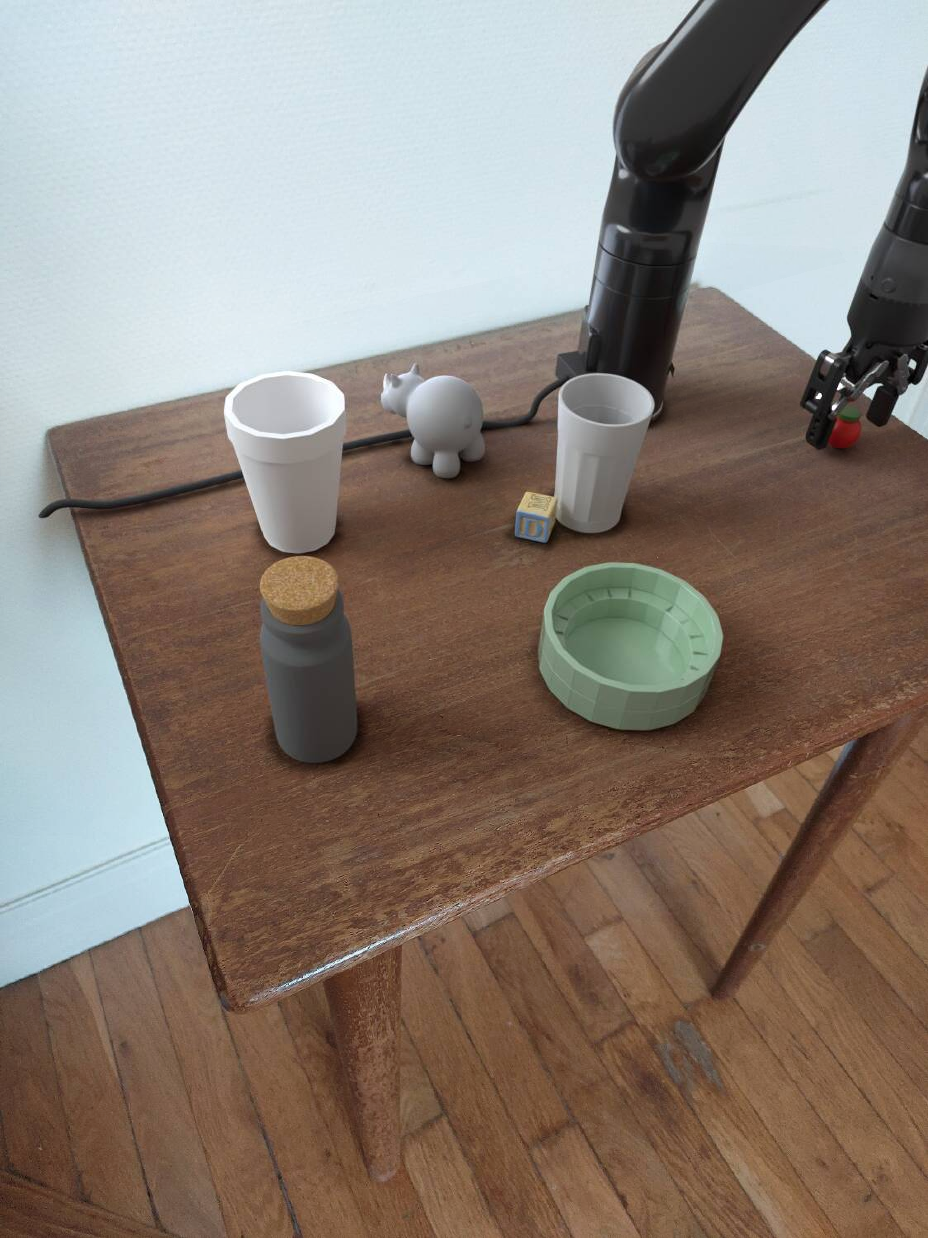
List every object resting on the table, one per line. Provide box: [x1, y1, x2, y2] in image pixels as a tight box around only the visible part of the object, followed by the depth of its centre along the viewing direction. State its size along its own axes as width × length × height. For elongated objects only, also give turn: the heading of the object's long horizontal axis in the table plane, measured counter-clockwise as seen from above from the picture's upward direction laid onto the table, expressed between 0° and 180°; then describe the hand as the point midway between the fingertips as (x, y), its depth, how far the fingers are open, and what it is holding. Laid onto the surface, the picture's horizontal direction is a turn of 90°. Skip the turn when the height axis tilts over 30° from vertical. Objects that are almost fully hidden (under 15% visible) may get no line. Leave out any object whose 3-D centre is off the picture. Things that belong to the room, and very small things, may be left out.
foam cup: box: [223, 370, 347, 555], centre depth 76 cm, size 10×9×13 cm
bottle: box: [259, 555, 358, 764], centre depth 60 cm, size 6×6×15 cm
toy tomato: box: [828, 405, 862, 449], centre depth 92 cm, size 4×4×4 cm
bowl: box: [537, 561, 724, 731], centre depth 69 cm, size 13×13×5 cm
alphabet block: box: [514, 491, 558, 544], centre depth 81 cm, size 3×3×3 cm
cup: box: [553, 373, 654, 534], centre depth 80 cm, size 8×8×12 cm
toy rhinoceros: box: [380, 362, 486, 479], centre depth 87 cm, size 7×12×8 cm, turn 45°
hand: (845, 433), depth 92 cm, fingers open, 8 cm apart
